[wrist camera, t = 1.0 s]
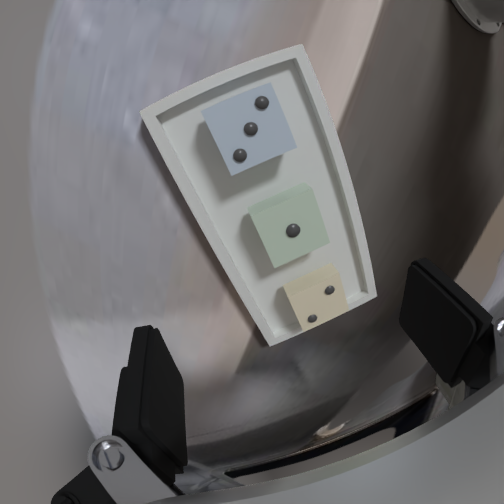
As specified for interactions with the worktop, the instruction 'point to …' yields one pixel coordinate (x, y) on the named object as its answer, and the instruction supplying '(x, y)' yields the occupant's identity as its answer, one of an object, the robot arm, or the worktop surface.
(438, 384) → the geiger counter
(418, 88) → the worktop surface
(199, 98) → the key panel
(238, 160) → the key three dots
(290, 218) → the key one dot
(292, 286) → the key two dots
